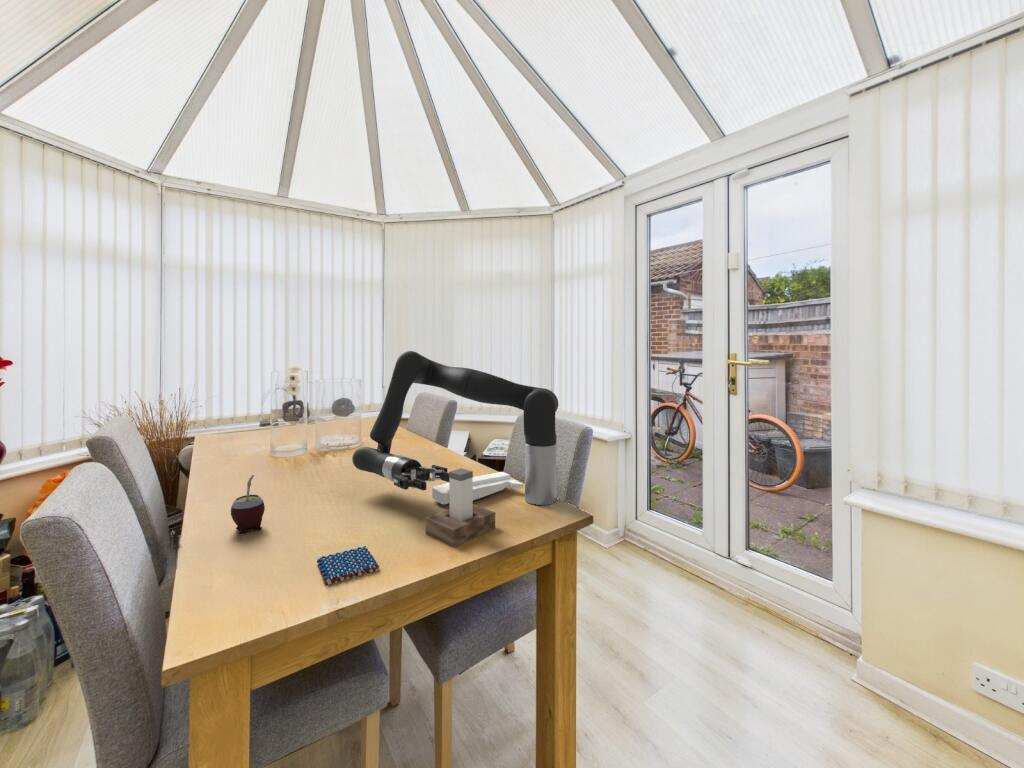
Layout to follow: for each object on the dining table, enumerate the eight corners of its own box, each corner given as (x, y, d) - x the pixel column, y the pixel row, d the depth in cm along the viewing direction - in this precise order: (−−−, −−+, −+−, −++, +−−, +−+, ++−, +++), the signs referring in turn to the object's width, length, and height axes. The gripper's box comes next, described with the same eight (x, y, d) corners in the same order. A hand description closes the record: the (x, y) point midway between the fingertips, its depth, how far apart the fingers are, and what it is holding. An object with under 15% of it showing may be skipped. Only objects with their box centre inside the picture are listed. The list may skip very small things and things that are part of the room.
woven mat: (381, 572, 85) (381, 563, 85) (325, 589, 79) (324, 579, 79) (367, 552, 93) (367, 543, 93) (315, 565, 88) (315, 556, 87)
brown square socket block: (467, 516, 112) (467, 502, 112) (495, 527, 105) (495, 512, 105) (425, 534, 101) (425, 518, 101) (453, 547, 95) (453, 530, 94)
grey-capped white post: (461, 521, 106) (461, 468, 105) (472, 526, 103) (472, 471, 102) (449, 527, 103) (448, 471, 102) (460, 531, 100) (460, 475, 99)
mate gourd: (244, 523, 107) (241, 466, 106) (274, 523, 107) (272, 466, 106) (223, 536, 100) (220, 475, 99) (256, 536, 100) (253, 475, 98)
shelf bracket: (523, 477, 129) (497, 467, 138) (454, 496, 113) (431, 483, 122) (522, 494, 130) (497, 483, 139) (454, 515, 113) (431, 501, 123)
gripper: (379, 462, 113) (416, 474, 102) (422, 452, 123) (459, 462, 113) (379, 489, 113) (416, 504, 103) (422, 477, 124) (459, 489, 114)
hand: (438, 482), depth 108 cm, fingers open, 8 cm apart
